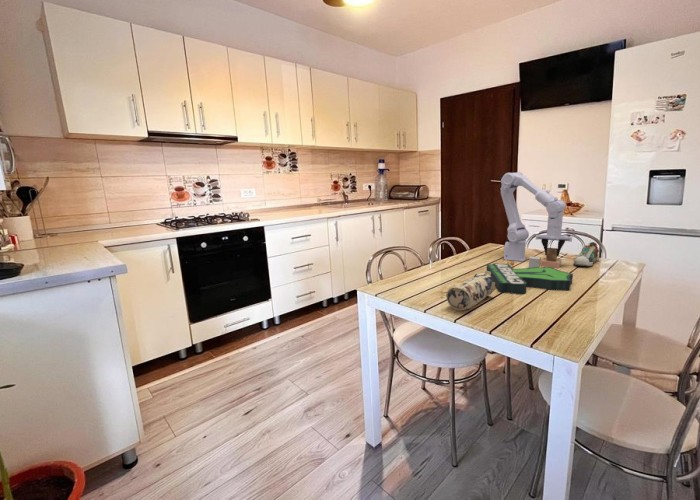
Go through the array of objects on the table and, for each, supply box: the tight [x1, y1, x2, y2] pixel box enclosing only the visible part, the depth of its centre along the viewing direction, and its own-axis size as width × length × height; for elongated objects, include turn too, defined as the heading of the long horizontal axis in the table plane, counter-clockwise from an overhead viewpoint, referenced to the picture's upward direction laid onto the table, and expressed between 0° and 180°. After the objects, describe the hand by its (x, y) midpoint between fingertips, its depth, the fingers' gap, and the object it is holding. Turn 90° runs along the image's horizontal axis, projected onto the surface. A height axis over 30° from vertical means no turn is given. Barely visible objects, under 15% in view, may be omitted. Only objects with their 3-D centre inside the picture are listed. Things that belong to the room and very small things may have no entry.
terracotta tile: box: [540, 257, 562, 269], centre depth 160 cm, size 7×7×3 cm
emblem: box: [486, 262, 574, 295], centre depth 138 cm, size 30×4×30 cm
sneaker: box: [573, 241, 600, 267], centre depth 161 cm, size 8×21×10 cm, turn 133°
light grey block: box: [528, 256, 541, 268], centre depth 157 cm, size 4×4×5 cm
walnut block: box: [545, 247, 558, 261], centre depth 159 cm, size 4×4×5 cm
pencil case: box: [445, 270, 496, 311], centre depth 117 cm, size 22×8×10 cm, turn 135°
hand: (551, 255), depth 159 cm, fingers open, 4 cm apart
